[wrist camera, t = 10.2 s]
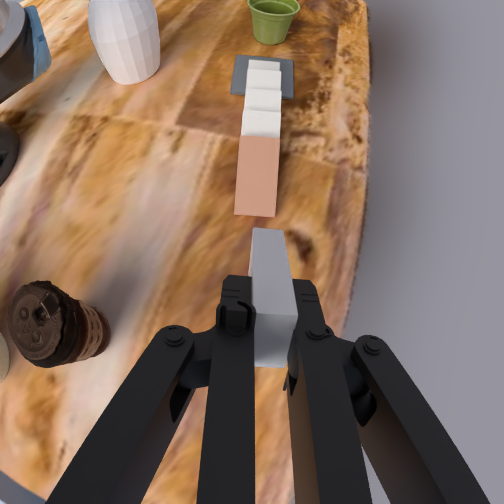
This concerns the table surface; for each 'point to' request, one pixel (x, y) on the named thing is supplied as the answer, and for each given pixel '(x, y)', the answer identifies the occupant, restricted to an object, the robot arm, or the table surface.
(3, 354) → the reusable coffee cup
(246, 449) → the robot arm
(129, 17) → the bottle
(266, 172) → the domino
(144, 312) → the table surface
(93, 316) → the coffee cup
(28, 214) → the table surface
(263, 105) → the domino
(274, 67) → the domino
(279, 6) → the plant pot
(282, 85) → the slate coaster
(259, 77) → the domino
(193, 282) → the table surface
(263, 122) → the domino
